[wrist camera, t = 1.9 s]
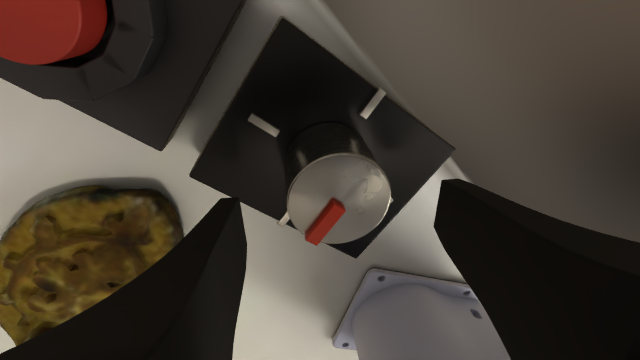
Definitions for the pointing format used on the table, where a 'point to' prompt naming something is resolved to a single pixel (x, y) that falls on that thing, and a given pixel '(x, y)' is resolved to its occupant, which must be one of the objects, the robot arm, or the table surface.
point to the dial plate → (303, 112)
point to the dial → (334, 185)
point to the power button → (50, 29)
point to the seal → (79, 253)
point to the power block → (137, 65)
